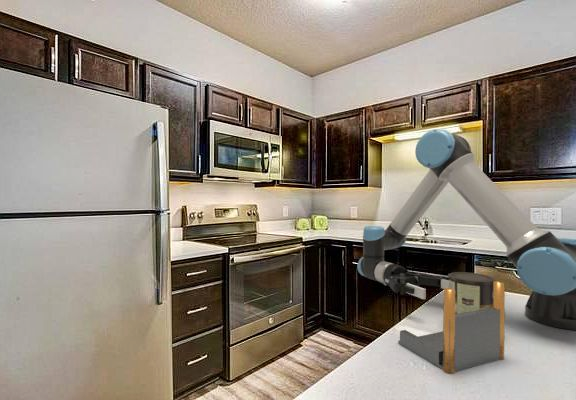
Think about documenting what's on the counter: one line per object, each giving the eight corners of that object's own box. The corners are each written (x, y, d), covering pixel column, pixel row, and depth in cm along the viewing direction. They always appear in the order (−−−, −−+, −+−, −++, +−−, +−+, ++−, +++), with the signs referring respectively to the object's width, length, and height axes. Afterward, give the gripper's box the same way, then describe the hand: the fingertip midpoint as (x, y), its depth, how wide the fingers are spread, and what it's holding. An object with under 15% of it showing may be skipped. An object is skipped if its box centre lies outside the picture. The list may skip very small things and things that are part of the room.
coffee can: (484, 325, 86) (485, 272, 86) (501, 342, 76) (502, 282, 76) (443, 322, 88) (443, 270, 88) (454, 338, 78) (455, 280, 78)
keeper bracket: (449, 332, 81) (449, 269, 81) (506, 358, 68) (506, 283, 68) (397, 343, 75) (398, 274, 75) (449, 374, 62) (450, 291, 62)
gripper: (419, 282, 114) (474, 299, 94) (360, 289, 104) (408, 310, 85) (419, 261, 114) (474, 274, 94) (360, 266, 104) (408, 282, 85)
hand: (443, 291), depth 90 cm, fingers open, 13 cm apart
